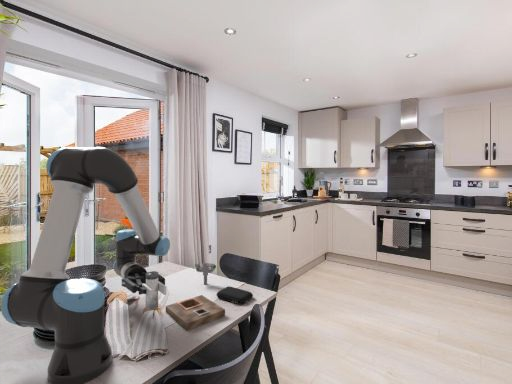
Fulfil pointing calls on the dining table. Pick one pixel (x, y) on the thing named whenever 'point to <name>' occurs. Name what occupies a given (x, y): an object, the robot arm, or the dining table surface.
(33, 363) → the dining table surface
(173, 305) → the socket board
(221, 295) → the carrying case or bag
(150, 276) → the metal cylinder
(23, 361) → the dining table surface
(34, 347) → the dining table surface
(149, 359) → the dining table surface
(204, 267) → the mechanical component
